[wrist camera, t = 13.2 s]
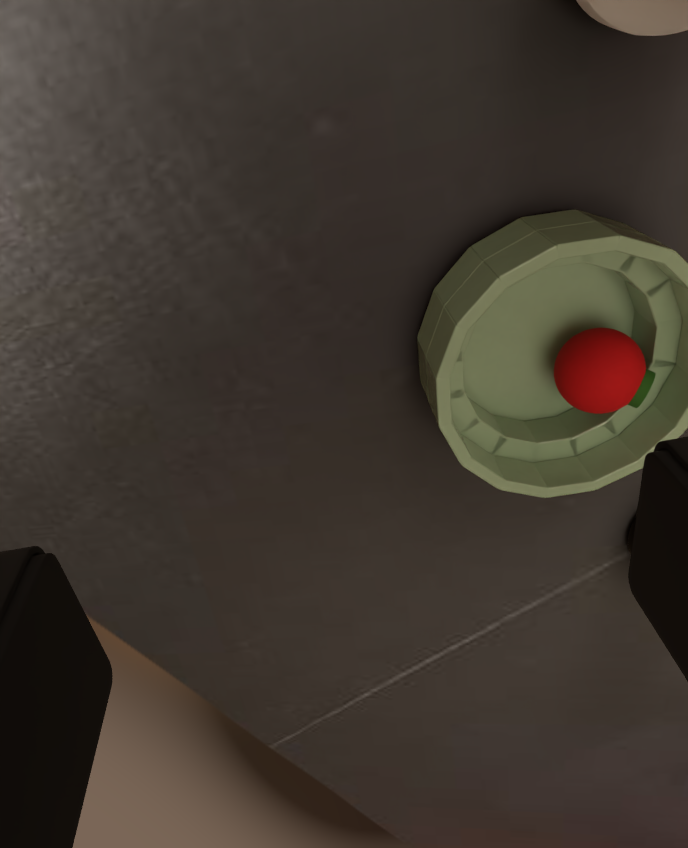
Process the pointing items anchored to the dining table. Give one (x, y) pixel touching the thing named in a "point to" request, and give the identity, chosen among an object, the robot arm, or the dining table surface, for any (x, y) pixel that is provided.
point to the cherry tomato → (602, 371)
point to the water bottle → (640, 15)
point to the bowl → (553, 351)
